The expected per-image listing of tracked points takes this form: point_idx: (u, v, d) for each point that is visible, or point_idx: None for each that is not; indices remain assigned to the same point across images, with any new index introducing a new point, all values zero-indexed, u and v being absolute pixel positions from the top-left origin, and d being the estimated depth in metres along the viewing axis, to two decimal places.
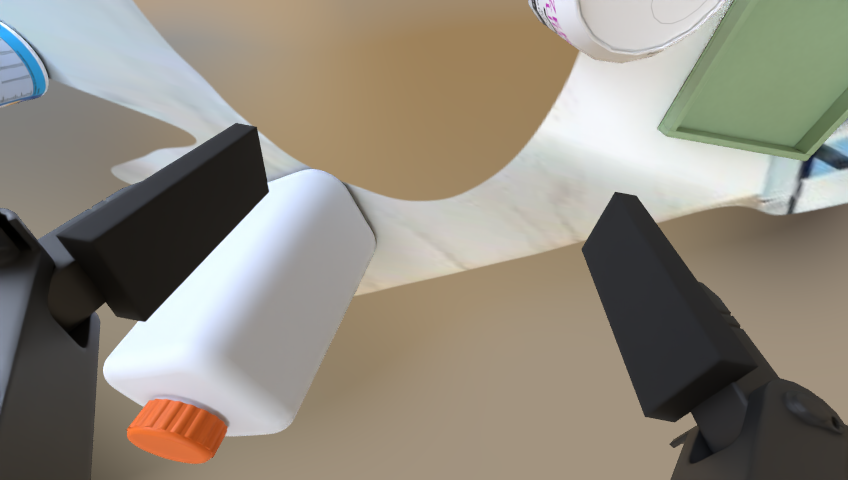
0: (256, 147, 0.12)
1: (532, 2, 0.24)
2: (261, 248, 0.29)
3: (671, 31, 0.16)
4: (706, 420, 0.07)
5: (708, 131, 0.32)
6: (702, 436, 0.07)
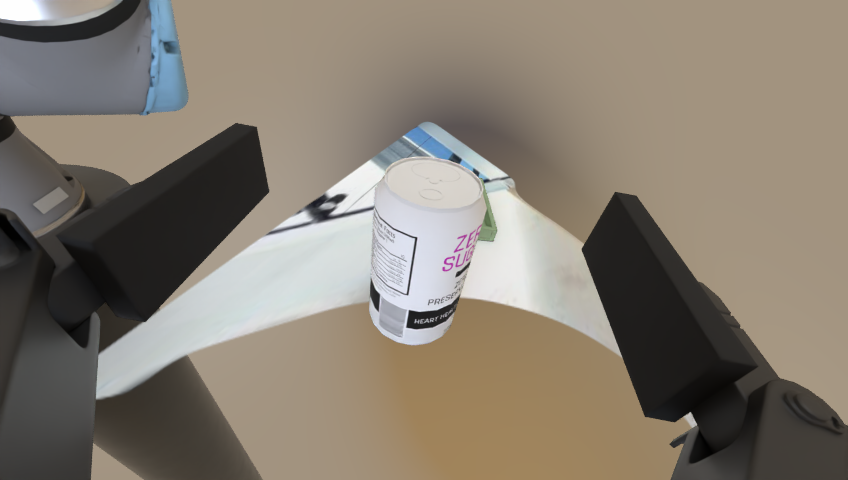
0: (256, 147, 0.12)
1: (443, 319, 0.28)
2: None
3: (462, 172, 0.25)
4: (706, 420, 0.07)
5: (484, 218, 0.46)
6: (702, 436, 0.07)
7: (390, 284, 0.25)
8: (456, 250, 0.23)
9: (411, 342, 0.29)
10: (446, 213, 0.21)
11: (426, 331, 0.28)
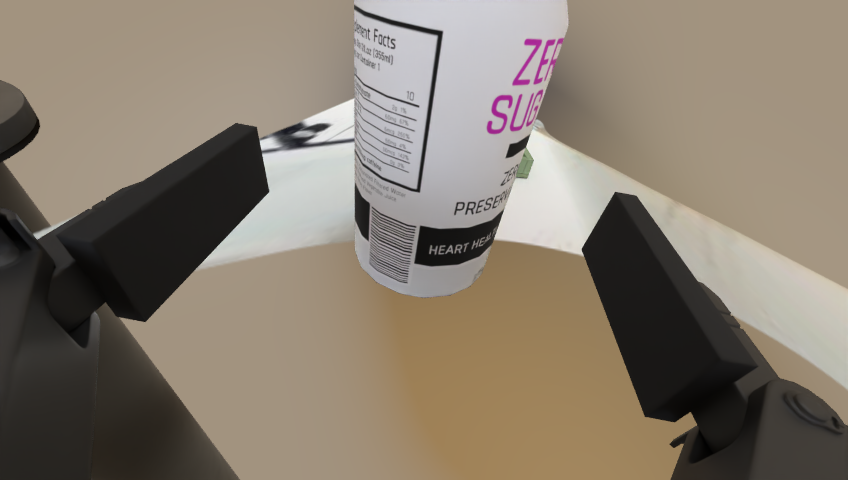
0: (256, 147, 0.12)
1: (476, 251, 0.17)
2: None
3: None
4: (706, 420, 0.07)
5: None
6: (702, 436, 0.07)
7: (386, 174, 0.14)
8: (517, 81, 0.11)
9: (422, 292, 0.18)
10: None
11: (447, 271, 0.17)
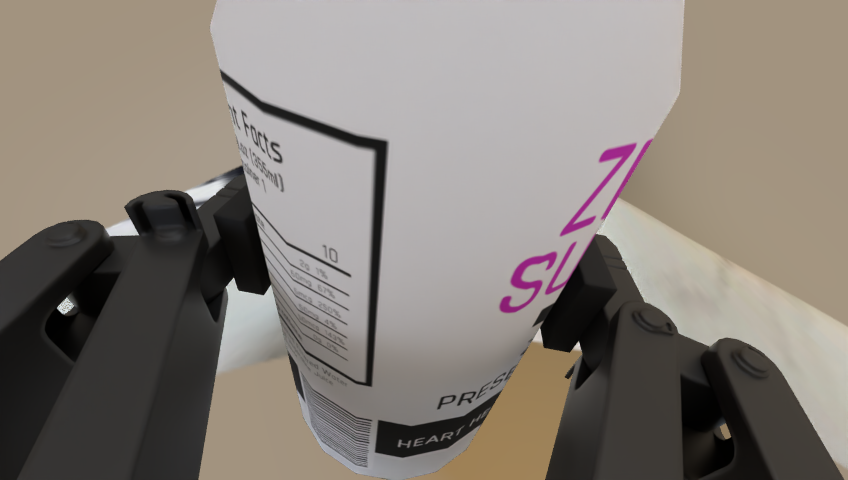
0: None
1: (477, 423, 0.10)
2: None
3: None
4: (585, 349, 0.08)
5: None
6: (584, 363, 0.08)
7: (310, 349, 0.07)
8: (571, 226, 0.05)
9: (392, 476, 0.11)
10: None
11: (430, 456, 0.10)
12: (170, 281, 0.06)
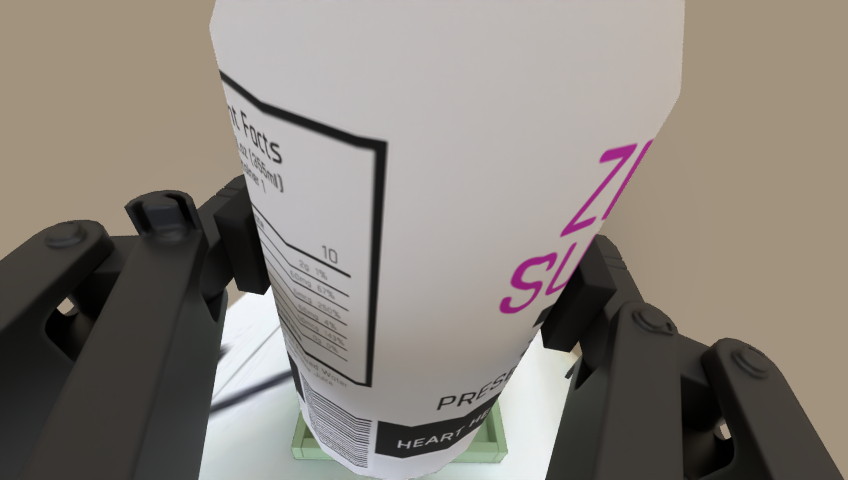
0: None
1: (477, 424, 0.10)
2: None
3: None
4: (585, 349, 0.08)
5: None
6: (584, 363, 0.08)
7: (310, 349, 0.07)
8: (571, 227, 0.05)
9: (392, 477, 0.11)
10: None
11: (430, 456, 0.10)
12: (170, 281, 0.06)
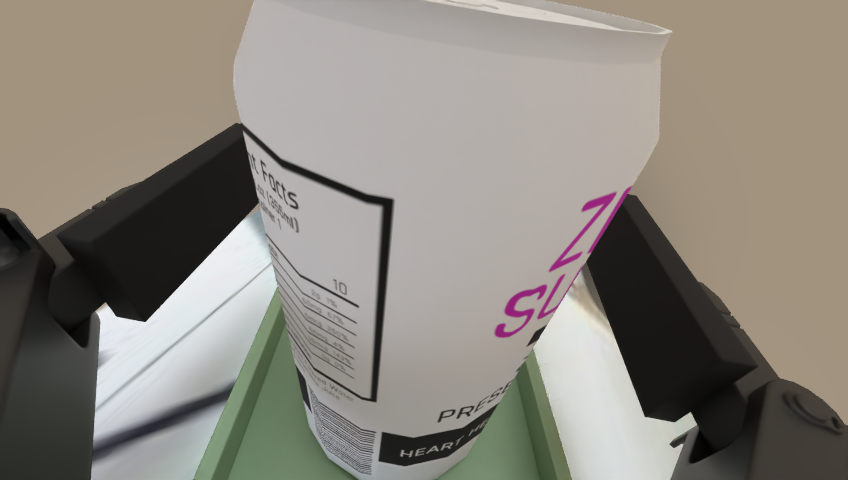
0: None
1: (475, 433, 0.11)
2: None
3: (547, 11, 0.08)
4: (706, 420, 0.07)
5: (528, 441, 0.14)
6: (702, 436, 0.07)
7: (318, 366, 0.08)
8: (559, 263, 0.05)
9: None
10: (553, 60, 0.04)
11: (431, 464, 0.11)
12: (2, 310, 0.06)
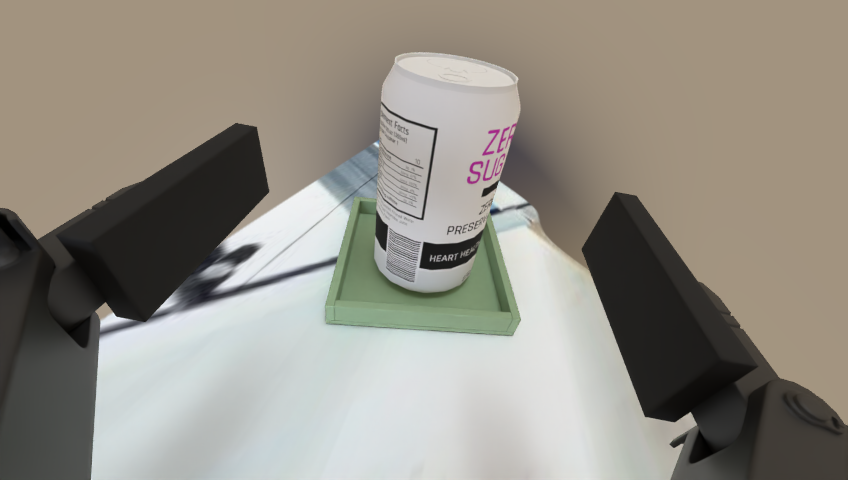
0: (256, 147, 0.12)
1: (464, 259, 0.23)
2: None
3: (489, 68, 0.20)
4: (706, 420, 0.07)
5: (494, 285, 0.27)
6: (702, 436, 0.07)
7: (400, 207, 0.20)
8: (485, 152, 0.18)
9: (425, 288, 0.24)
10: (475, 94, 0.16)
11: (443, 273, 0.23)
12: (2, 310, 0.06)
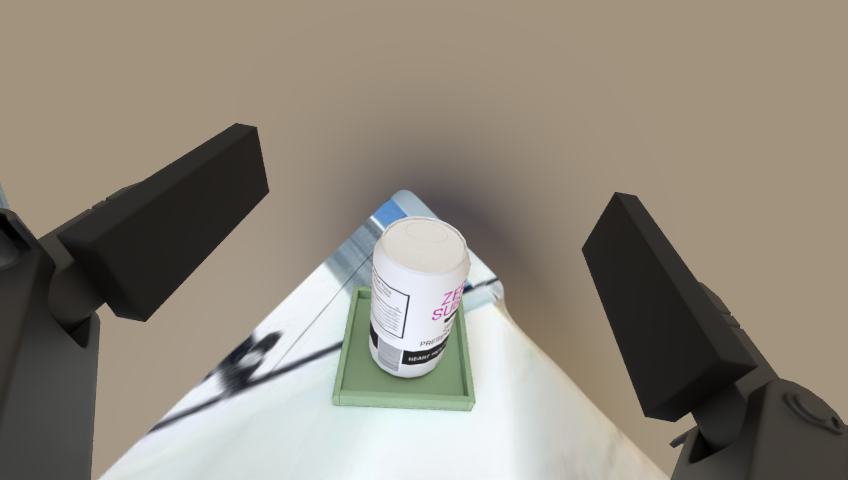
0: (256, 147, 0.12)
1: (434, 355, 0.32)
2: None
3: (450, 231, 0.28)
4: (706, 420, 0.07)
5: (460, 366, 0.35)
6: (702, 436, 0.07)
7: (386, 329, 0.29)
8: (443, 304, 0.26)
9: (406, 375, 0.32)
10: (434, 276, 0.24)
11: (419, 366, 0.32)
12: (2, 310, 0.06)
